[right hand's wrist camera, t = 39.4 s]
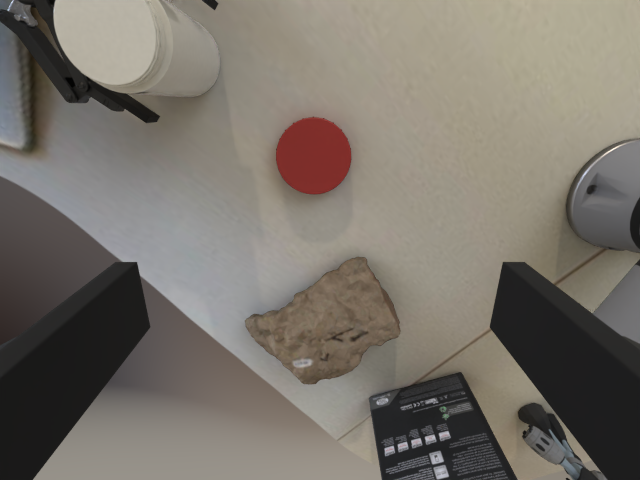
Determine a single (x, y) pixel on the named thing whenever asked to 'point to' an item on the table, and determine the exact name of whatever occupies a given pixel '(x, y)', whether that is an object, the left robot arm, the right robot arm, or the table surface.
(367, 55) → the table surface
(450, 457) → the graphics card box
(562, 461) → the robot
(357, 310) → the stone
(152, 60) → the jar
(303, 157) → the lid
